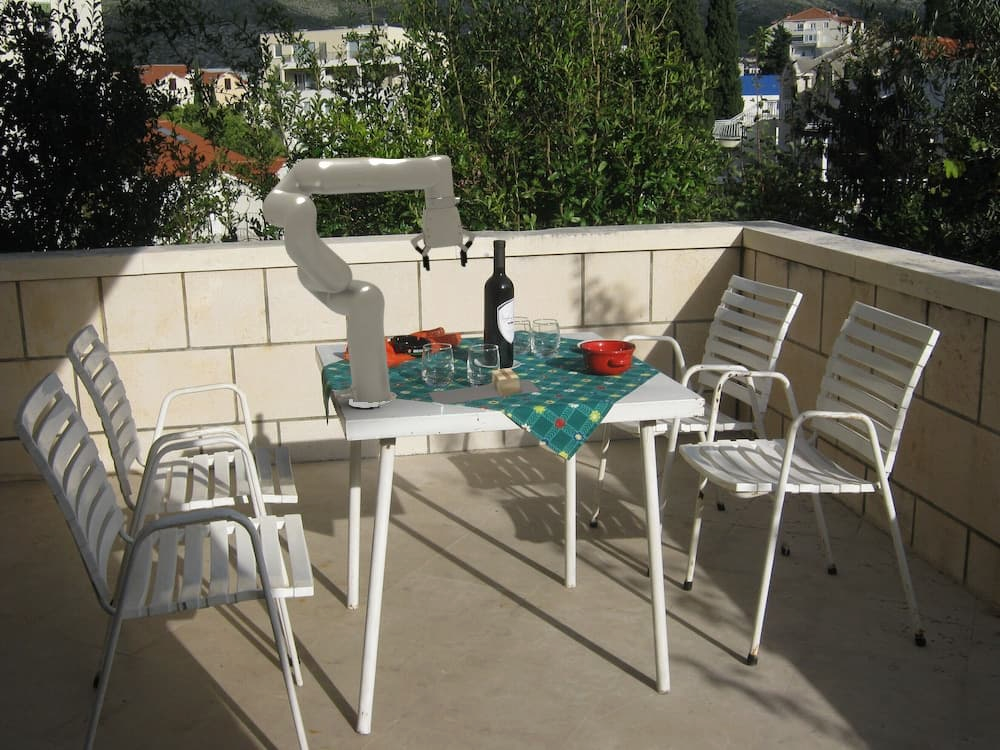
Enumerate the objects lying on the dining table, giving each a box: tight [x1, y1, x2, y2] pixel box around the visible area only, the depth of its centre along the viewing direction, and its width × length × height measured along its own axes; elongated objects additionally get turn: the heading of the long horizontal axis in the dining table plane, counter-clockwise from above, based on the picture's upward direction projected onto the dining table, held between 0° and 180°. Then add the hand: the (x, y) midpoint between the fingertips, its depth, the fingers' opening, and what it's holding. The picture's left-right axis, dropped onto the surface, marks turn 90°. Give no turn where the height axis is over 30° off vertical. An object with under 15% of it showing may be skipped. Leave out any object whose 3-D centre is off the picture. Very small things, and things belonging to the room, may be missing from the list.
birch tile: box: [491, 368, 520, 395], centre depth 277 cm, size 10×5×4 cm, turn 13°
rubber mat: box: [428, 378, 542, 405], centre depth 276 cm, size 27×12×1 cm, turn 103°
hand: (445, 268), depth 285 cm, fingers open, 9 cm apart
